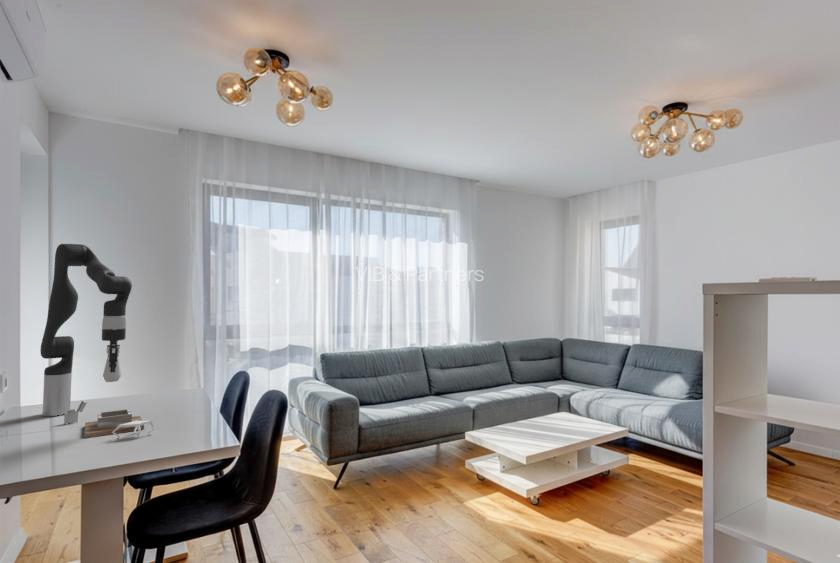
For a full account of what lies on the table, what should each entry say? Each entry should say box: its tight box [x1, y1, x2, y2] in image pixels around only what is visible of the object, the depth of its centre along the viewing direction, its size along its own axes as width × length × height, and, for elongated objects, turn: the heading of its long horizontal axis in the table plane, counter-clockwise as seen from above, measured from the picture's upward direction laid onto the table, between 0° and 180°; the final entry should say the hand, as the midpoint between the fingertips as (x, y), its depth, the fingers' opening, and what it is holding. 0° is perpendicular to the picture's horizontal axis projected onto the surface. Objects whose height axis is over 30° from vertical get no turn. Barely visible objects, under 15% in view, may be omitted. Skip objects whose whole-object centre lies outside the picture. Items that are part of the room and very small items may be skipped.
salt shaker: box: [102, 349, 122, 383], centre depth 170 cm, size 6×6×13 cm
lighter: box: [63, 400, 88, 425], centre depth 178 cm, size 7×2×8 cm, turn 149°
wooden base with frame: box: [84, 408, 145, 439], centre depth 170 cm, size 18×18×6 cm
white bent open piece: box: [112, 420, 156, 439], centre depth 160 cm, size 12×8×5 cm
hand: (112, 372), depth 170 cm, fingers closed on salt shaker, 3 cm apart
